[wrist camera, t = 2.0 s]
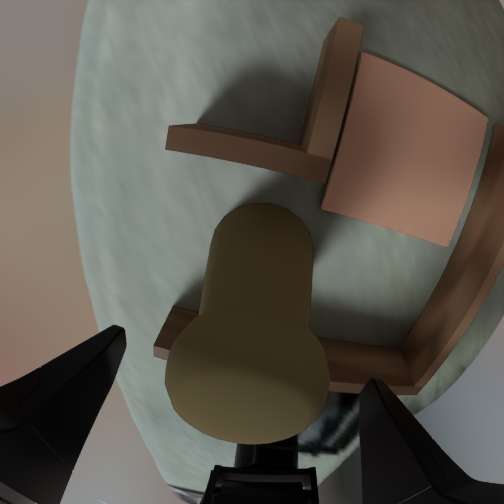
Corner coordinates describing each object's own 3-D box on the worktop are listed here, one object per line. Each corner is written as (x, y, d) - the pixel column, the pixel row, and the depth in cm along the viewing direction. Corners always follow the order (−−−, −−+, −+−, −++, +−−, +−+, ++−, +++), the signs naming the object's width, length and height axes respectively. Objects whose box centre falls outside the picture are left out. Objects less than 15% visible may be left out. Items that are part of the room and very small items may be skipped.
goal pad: (444, 245, 15) (447, 247, 15) (320, 207, 15) (321, 209, 15) (484, 117, 11) (488, 118, 11) (360, 53, 11) (362, 51, 11)
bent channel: (402, 358, 20) (416, 394, 16) (172, 316, 20) (153, 356, 16) (502, 131, 12) (543, 141, 8) (219, 21, 11) (201, -7, 8)
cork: (206, 286, 18) (149, 442, 8) (216, 194, 15) (122, 328, 6) (299, 302, 18) (310, 466, 8) (324, 214, 15) (390, 370, 6)
